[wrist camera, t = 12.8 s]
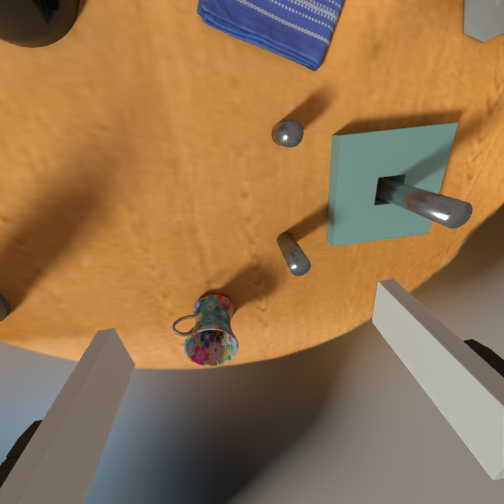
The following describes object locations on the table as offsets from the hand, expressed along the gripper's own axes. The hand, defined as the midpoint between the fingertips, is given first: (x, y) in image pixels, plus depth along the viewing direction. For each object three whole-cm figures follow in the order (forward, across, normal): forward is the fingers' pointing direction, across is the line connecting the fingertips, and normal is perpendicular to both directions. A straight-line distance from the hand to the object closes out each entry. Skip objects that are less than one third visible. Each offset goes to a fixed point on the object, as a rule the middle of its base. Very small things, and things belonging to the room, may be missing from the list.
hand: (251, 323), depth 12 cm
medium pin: (+30, +8, -11) cm, 34 cm away
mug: (+30, -9, -24) cm, 40 cm away
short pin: (+31, +9, +7) cm, 33 cm away
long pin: (+30, +25, -4) cm, 40 cm away
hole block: (+30, +26, -4) cm, 40 cm away
